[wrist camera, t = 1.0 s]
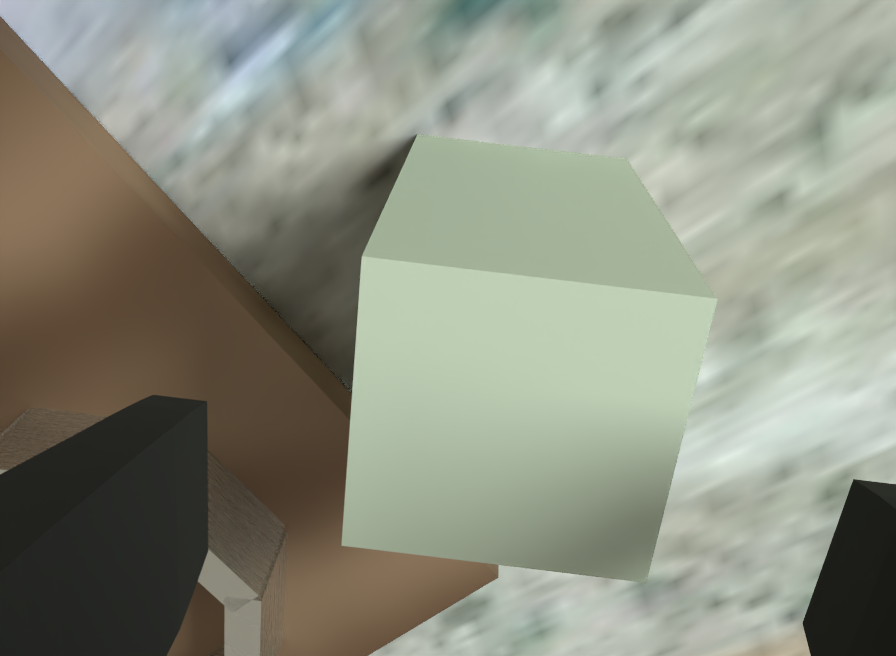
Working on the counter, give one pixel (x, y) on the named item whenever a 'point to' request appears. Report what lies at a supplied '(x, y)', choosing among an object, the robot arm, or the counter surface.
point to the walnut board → (185, 363)
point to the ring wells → (229, 537)
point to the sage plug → (521, 362)
